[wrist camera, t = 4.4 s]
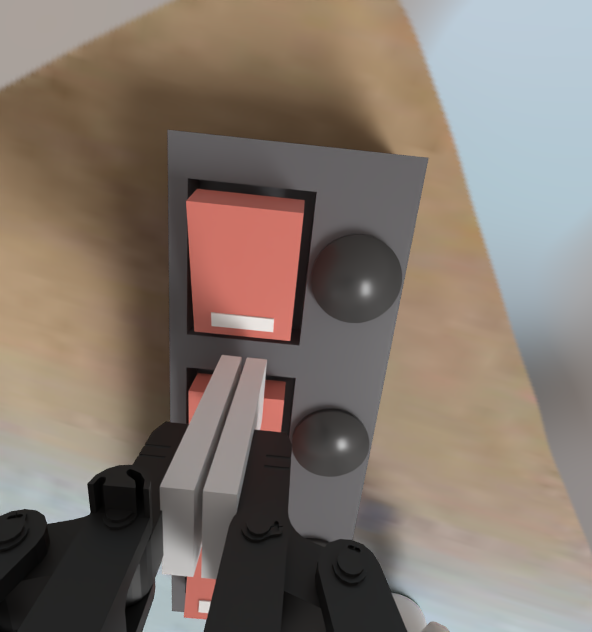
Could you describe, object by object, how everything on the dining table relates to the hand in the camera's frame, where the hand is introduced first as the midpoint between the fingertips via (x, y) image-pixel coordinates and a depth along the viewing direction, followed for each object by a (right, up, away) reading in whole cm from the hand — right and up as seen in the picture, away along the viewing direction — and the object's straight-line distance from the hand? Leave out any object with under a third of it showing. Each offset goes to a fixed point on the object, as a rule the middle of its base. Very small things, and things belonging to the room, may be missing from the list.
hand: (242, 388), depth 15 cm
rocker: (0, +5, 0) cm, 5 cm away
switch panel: (0, -7, +9) cm, 11 cm away
